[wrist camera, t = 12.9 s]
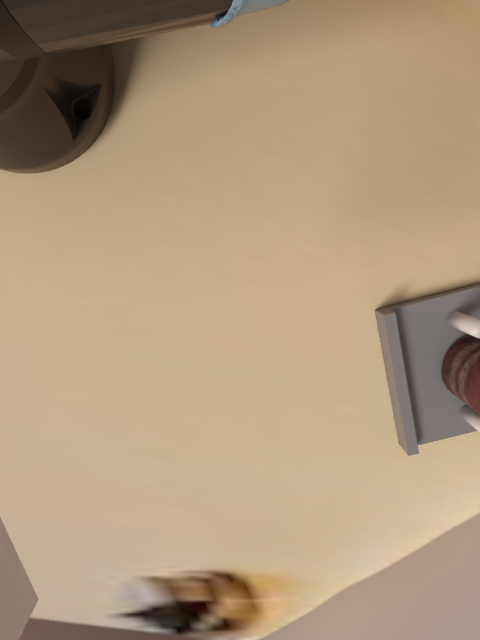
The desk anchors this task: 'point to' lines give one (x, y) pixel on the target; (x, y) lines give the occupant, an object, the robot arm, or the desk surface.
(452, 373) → the can
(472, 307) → the tray
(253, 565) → the desk surface
